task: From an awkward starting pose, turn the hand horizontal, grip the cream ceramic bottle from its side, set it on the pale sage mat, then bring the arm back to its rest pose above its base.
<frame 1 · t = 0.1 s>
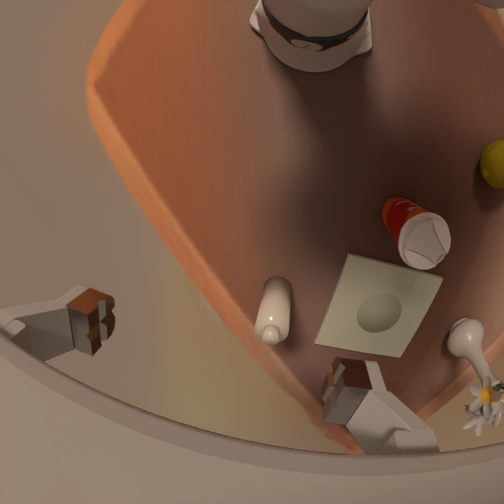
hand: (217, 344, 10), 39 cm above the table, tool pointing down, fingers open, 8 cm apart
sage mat: (378, 310, 52), on the table
cream bottle: (277, 288, 54), on the table
lemon: (490, 160, 37), on the table
paper cup: (396, 211, 45), on the table
flower vase: (461, 329, 52), on the table
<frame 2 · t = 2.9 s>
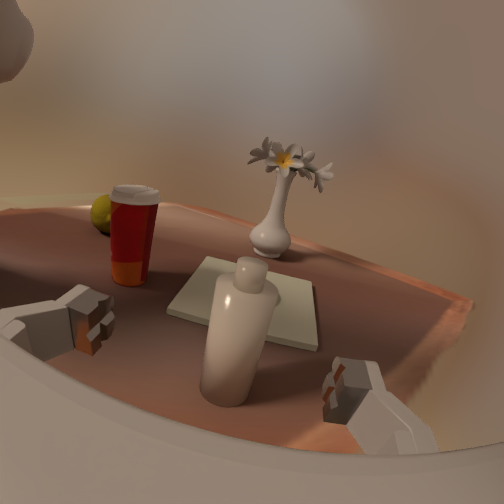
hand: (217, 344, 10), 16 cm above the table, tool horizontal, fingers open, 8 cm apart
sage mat: (250, 298, 46), on the table
cream bottle: (224, 388, 28), on the table
lemon: (106, 231, 60), on the table
paper cup: (128, 279, 44), on the table
flower vase: (268, 253, 68), on the table
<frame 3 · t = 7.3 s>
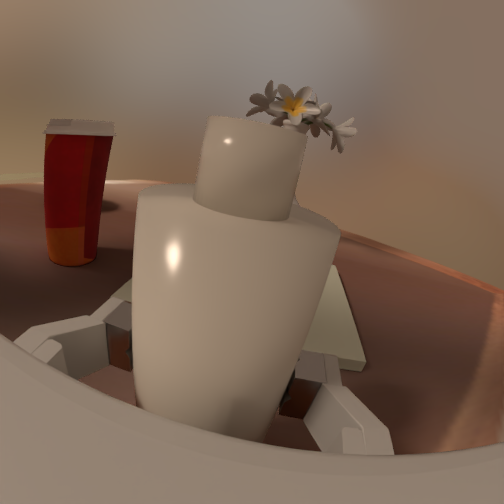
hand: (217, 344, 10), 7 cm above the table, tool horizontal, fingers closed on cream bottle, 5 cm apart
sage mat: (250, 287, 30), on the table
cream bottle: (195, 460, 11), on the table, touching gripper
paper cup: (71, 256, 27), on the table
flower vase: (273, 232, 52), on the table
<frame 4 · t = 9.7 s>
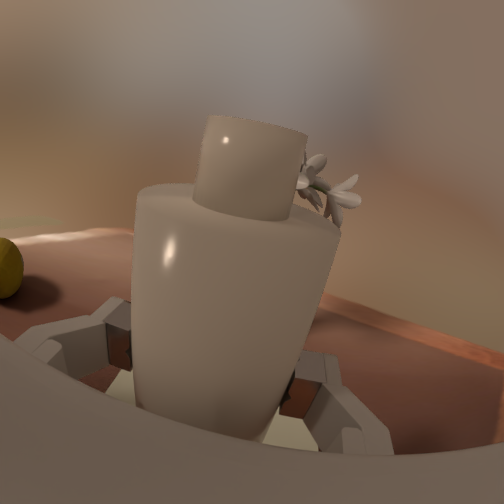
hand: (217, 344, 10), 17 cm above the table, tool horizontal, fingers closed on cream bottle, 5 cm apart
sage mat: (196, 468, 19), on the table
cream bottle: (194, 460, 11), point 10 cm above the table, touching gripper
lemon: (5, 292, 32), on the table
flower vase: (246, 327, 41), on the table
when the fingers open (8 cm above the table, at t = 12.1 s): cream bottle stays where it is, resting on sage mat.
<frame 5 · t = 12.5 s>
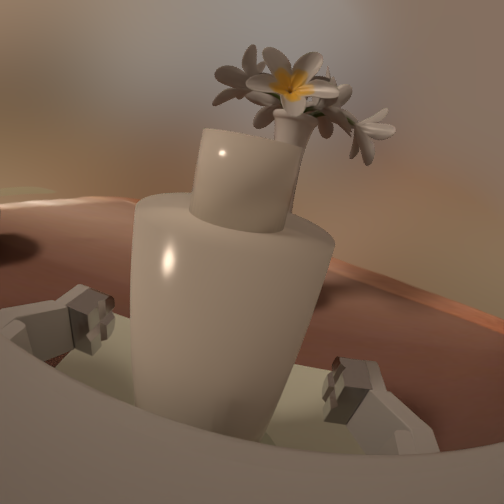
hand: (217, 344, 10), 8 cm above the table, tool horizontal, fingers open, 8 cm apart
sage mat: (192, 470, 12), on the table
cream bottle: (193, 462, 11), point 1 cm above the table, touching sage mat
flower vase: (259, 290, 34), on the table
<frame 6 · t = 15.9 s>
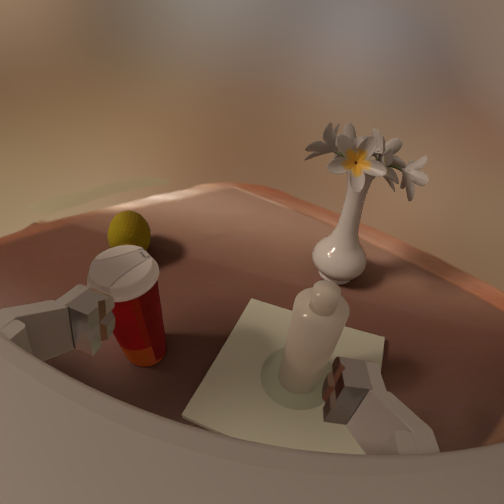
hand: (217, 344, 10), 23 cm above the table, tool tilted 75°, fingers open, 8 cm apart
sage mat: (297, 380, 33), on the table
cream bottle: (298, 376, 32), point 1 cm above the table, touching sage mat
lemon: (133, 253, 51), on the table
paper cup: (145, 350, 35), on the table
flower vase: (337, 272, 50), on the table
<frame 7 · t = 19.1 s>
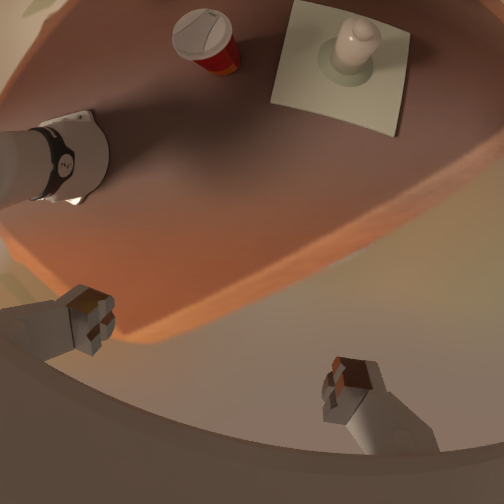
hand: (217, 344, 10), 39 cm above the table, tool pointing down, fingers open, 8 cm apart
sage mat: (344, 62, 38), on the table
cream bottle: (345, 61, 37), point 1 cm above the table, touching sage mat
paper cup: (223, 61, 41), on the table
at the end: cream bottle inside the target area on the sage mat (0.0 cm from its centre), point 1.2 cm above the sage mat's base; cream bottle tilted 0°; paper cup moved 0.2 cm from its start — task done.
